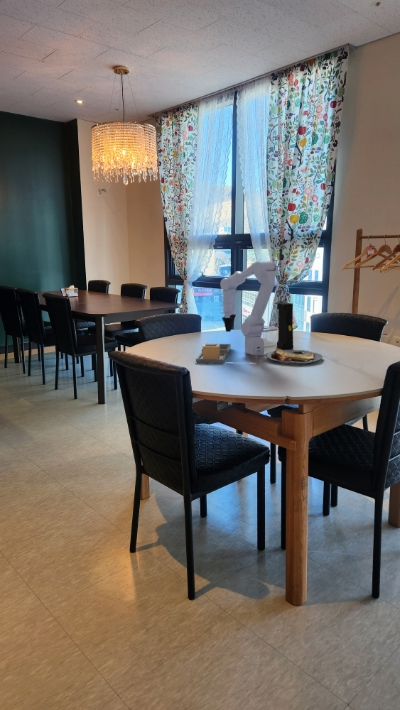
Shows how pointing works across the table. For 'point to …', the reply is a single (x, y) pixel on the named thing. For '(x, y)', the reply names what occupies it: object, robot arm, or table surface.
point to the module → (211, 351)
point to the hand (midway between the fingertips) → (229, 330)
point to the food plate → (293, 356)
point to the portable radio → (285, 326)
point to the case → (224, 348)
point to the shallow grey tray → (214, 361)
